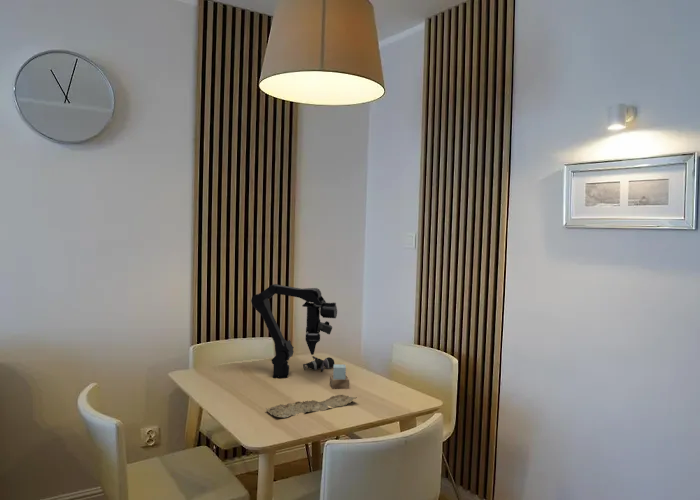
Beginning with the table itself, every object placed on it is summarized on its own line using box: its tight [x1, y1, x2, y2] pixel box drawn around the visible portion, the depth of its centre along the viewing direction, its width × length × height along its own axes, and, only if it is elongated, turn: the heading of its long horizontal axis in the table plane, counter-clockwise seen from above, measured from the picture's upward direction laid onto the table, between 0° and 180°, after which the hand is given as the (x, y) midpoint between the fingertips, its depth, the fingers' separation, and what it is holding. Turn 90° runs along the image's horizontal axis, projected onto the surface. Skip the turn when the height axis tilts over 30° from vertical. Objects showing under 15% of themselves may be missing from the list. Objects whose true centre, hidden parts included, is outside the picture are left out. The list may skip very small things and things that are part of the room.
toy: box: [302, 355, 335, 373], centre depth 248 cm, size 16×5×15 cm
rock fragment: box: [265, 394, 357, 419], centre depth 195 cm, size 34×10×3 cm, turn 124°
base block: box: [329, 374, 350, 390], centre depth 221 cm, size 7×7×4 cm
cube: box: [332, 364, 347, 380], centre depth 221 cm, size 5×5×5 cm
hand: (312, 352), depth 231 cm, fingers open, 9 cm apart
